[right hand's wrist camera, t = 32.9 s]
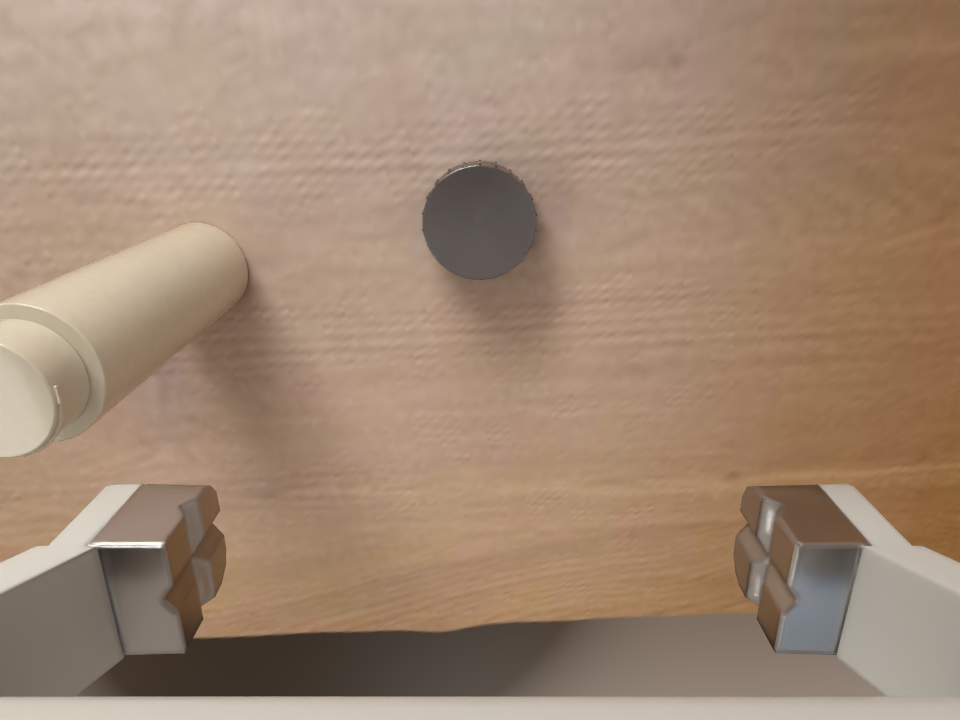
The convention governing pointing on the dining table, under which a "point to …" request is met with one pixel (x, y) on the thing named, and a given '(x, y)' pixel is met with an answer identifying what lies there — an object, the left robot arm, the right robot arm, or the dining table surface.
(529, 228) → the lid
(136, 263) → the jar
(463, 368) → the dining table surface
